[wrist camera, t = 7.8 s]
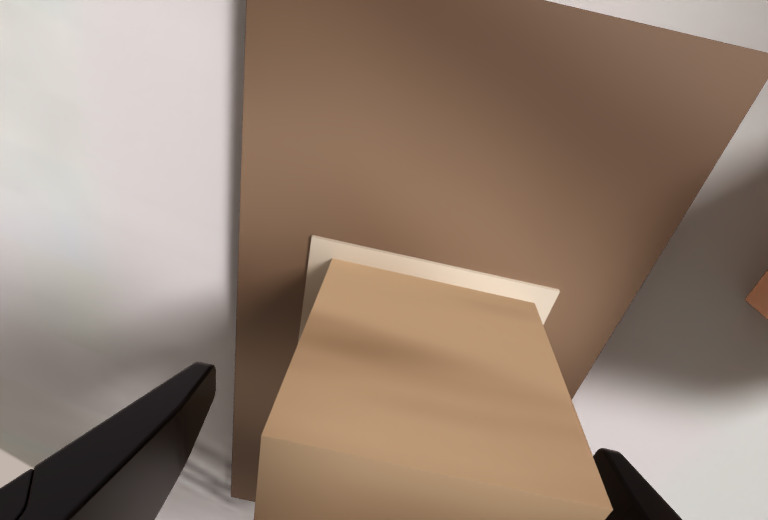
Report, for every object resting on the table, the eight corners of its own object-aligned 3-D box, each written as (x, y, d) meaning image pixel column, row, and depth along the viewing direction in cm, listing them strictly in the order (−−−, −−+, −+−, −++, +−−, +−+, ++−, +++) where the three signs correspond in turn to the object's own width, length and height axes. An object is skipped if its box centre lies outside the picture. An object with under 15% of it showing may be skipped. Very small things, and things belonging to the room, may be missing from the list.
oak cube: (471, 435, 13) (494, 648, 8) (309, 400, 13) (246, 598, 8) (534, 302, 10) (613, 509, 6) (332, 258, 10) (260, 435, 6)
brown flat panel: (478, 531, 16) (480, 551, 16) (237, 481, 16) (230, 499, 16) (758, 53, 8) (785, 56, 7) (260, -63, 8) (246, -71, 7)
